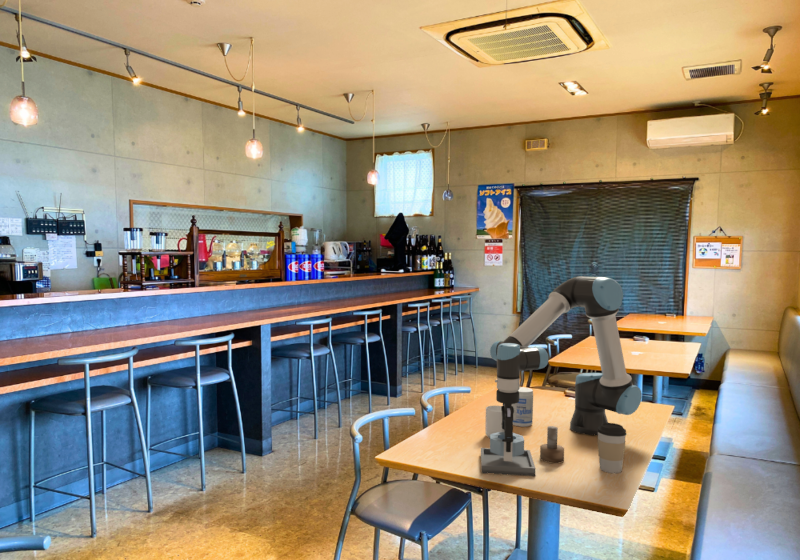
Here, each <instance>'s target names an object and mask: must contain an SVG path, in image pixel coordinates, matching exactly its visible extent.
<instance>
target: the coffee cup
mask: <svg viewBox="0 0 800 560" xmlns="http://www.w3.org/2000/svg"><path fill="white" fill-rule="evenodd" d="M597 431H598V435H597V451H598V453H597V454H598V459H599V460H598V461H599V469H600V470H601V471H602V472H605V473H608V474H621V471H622V472H623V465H624V463H623V462H624V459H625V458H624V457H625V447H626V435H627V430H626V429H625V428H624V426H623V425H621V424H618V423H614V422H608V423H603V424H601V426H599V427H598V430H597Z"/></svg>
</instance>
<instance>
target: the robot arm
mask: <svg viewBox="0 0 800 560" xmlns="http://www.w3.org/2000/svg"><path fill="white" fill-rule="evenodd" d="M623 299H624V293H623V288H622V286H621V284H619V282H618V281H616V280H615V279H613V278H611V277H605V276H583V275H582V276H574V277H572V278H570V279H568V280H565V281H564V282H562V283H561V284H559V285H558V286H557V287H556V288H554V289H553V291H551V292H550V293H549V295H548V298H547V299H546V300H545V301H544V303H542V304H541V305H540V306H538V308H537V309H536V310H535V311H534V312H533V313H532V314H530V316H529V317H528V318H526V319H525V321H523V322H522V323H521V324H520V325H519V326H518V327H517V328H516V329H515V330H514V331H513V332H512V333H510V335H508V337H507V338H505V339H504V340H503V341H502V340H500V341H499V340H497V341H494V342H493V343H492V344H491V346H490V350H489V355H490V357H491V358H492V360H493V361H496V379H494V383H496V397H495V398H496V399H495V401H496V402H498V403H500V404H502V405H500V406H501V411H502V429H504V430H502V432H504V435H505V439H502V442H504V461H512V444H513V433H514V427H513V426H514V425H513V414H514V408H513V406H512V404H516V403H518V402H519V391H518V390H519V389H520V387H521V385H520V384H521V382H520V381H521V380H520V379H521V378H520V376H521V374H520V373H521V372H523V371H533V370H534V371H535V370H541V369H545V367H547V366H548V364H549V354H548V352H547V350H546V349H545V348H544V347H541V346H534V347H532V346H531V347H530V345H531V344H532V343H534V342H535V341H536V340H537V339H538V338H539V337H540V336H541V334H544V332H545V331H546V330H547V329H548V328H549V327H550V326H551V325H553V323H554V322H555V321H557V319H558V318H559V317H560V316H561V315H562V314H565V313H569V312H570V311H571V310H572V309H573V308H578V307H579V308H584V310H585V316H586V317H587V318H589V319H591V324H592V329H593V334H594V340H595V344H596V348H597V349H596V350H597V354H598V359H599V364H600V368H601V372H583V373H579V374H577V375H576V377H575V383H574V399H575V400H574V411H573V413H572V417H571V419H570V422H569V429H570V430H571V431H573V432H574V433H577V434H580V435H581V434H582V435H586V436H598V431H597V430H598V427H599V426H601V424H603V423H609V420H608V418H607V414H606V411H610V412H612V413H613V412H614V413H616V414H618V415H624V416H629V415H632V414H634V413H635V412H636V411H637V410H638V409H639V407H640V405H641V402H642V397H643V396H642V395H643V394H642V390H641V388H640V387H639V386H637V385H635V384H633V378H632V376H631V375H630V374H628V373H627V368H626V365H625V360H624V354H623V347H622V344H621V338H620V334H619V333H620V332H619V328H618V322H617V317H616V315H617V313H619V311H620V310H619V309H620V307H621V305H622V304H623V301H622V300H623ZM507 437H511V438H507Z"/></svg>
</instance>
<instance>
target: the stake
mask: <svg viewBox="0 0 800 560" xmlns="http://www.w3.org/2000/svg"><path fill="white" fill-rule="evenodd" d="M546 429H547V431H546V432H547V433H546V434H547V435H546V439H547V440H546V443H544V444H541V445H540V446H539V448H540V449H539V459H540V460H541V461H543V462H544V463H545V462H546V463H549V464H550V463H551V464H561V463H563V462H564V461H565V447H564V446H562V445H560V444H558V430H559V429H558V426H554V425H548V426H547V428H546Z"/></svg>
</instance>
